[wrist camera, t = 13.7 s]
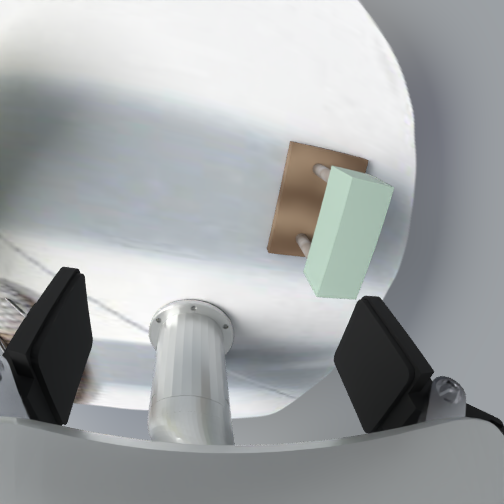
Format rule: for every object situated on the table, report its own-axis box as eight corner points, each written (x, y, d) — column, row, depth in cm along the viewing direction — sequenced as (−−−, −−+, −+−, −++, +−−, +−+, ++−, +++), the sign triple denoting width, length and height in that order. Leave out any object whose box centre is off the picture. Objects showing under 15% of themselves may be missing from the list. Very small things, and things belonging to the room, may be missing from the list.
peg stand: (336, 256, 43) (357, 283, 37) (266, 248, 41) (278, 277, 35) (364, 158, 37) (393, 171, 31) (290, 141, 35) (308, 150, 29)
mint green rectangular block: (369, 174, 31) (394, 187, 26) (339, 275, 36) (355, 299, 31) (331, 165, 30) (352, 177, 25) (303, 271, 35) (316, 297, 30)
